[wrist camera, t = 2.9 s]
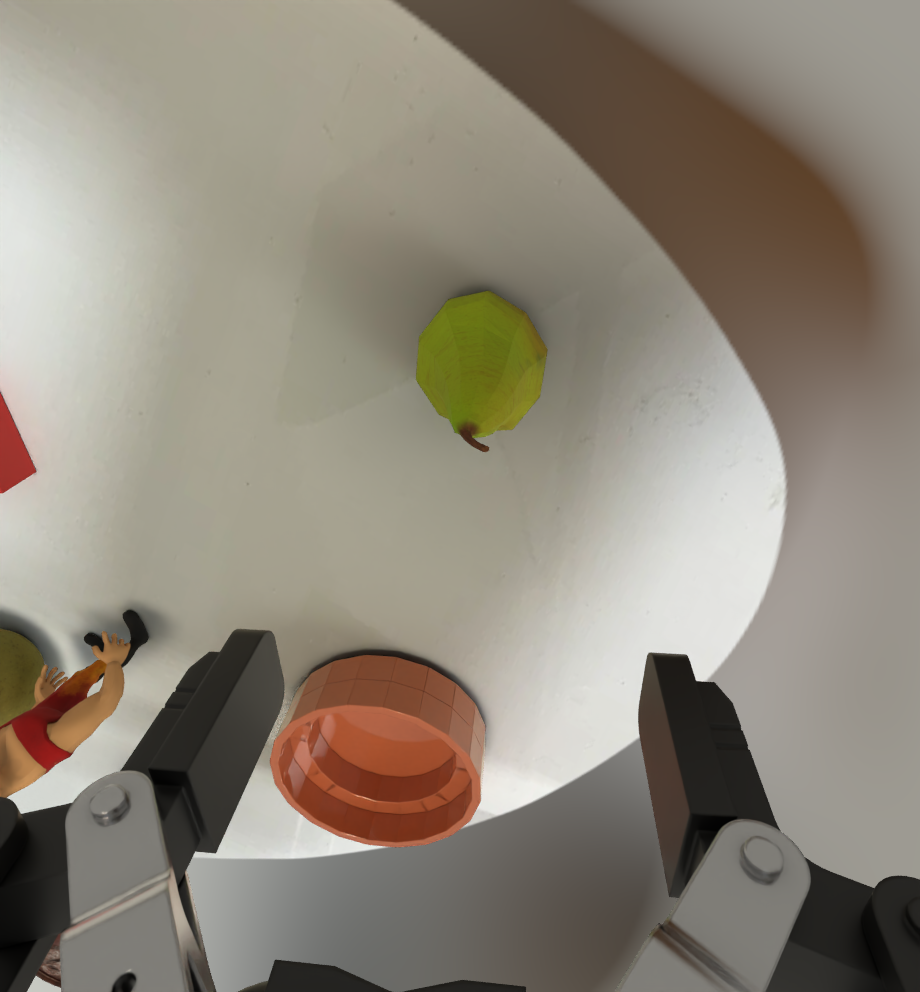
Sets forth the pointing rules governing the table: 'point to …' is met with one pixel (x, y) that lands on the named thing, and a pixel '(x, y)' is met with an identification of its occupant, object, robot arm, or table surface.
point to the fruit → (481, 365)
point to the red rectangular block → (12, 452)
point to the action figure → (65, 710)
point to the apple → (17, 674)
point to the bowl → (381, 752)
